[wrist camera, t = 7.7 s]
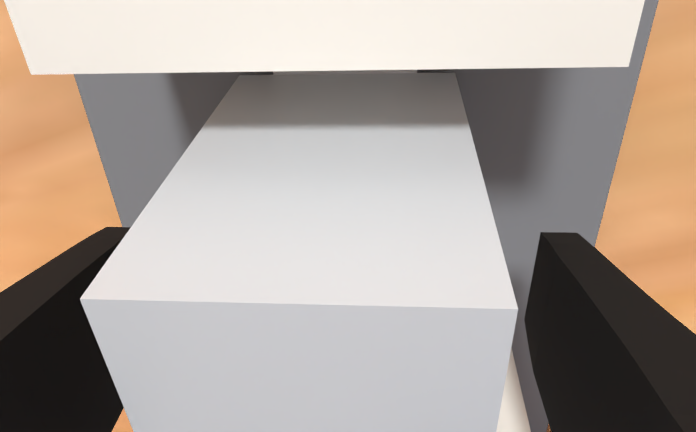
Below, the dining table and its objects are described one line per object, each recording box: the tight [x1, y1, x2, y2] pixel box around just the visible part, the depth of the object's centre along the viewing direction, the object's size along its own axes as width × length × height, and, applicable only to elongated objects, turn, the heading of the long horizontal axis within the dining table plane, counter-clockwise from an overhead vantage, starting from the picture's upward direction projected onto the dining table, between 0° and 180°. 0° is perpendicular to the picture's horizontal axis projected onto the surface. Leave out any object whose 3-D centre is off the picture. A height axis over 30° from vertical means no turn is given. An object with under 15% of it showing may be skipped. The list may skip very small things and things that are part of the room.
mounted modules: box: [4, 0, 645, 432], centre depth 11 cm, size 16×8×4 cm, turn 2°
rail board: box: [74, 0, 658, 432], centre depth 13 cm, size 26×12×1 cm, turn 2°
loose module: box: [80, 73, 518, 432], centre depth 10 cm, size 5×4×7 cm
